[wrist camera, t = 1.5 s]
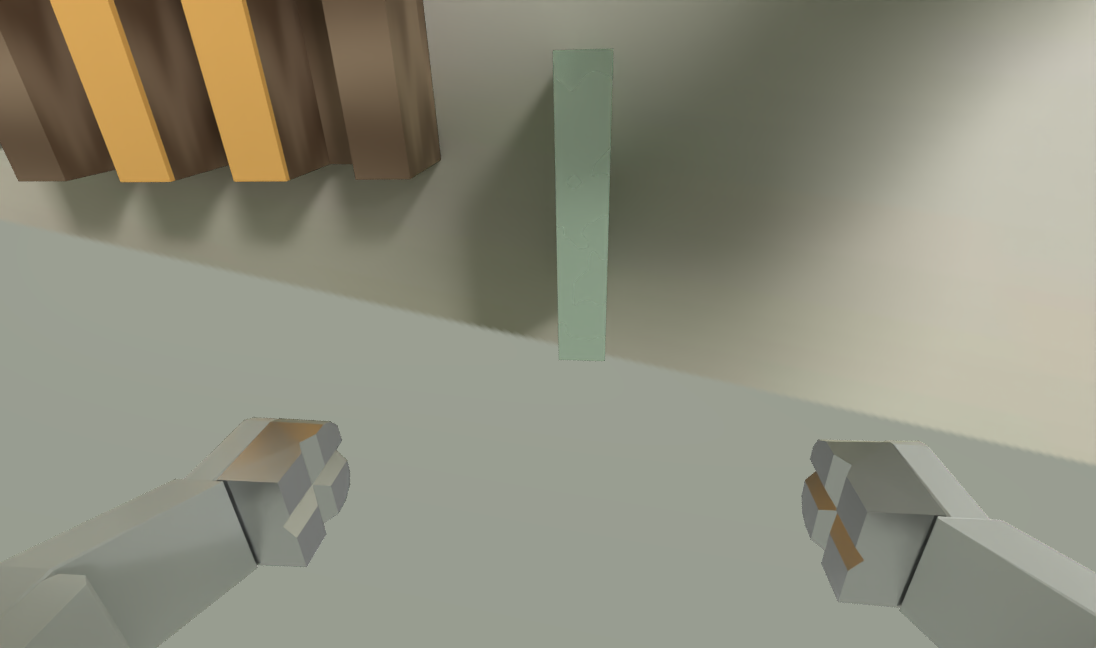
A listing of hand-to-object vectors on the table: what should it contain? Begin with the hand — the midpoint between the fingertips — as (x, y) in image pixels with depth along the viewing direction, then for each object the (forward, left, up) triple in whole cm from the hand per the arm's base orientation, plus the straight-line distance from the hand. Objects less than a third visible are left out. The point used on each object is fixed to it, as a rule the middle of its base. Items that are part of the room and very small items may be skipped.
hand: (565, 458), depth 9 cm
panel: (0, 0, -22) cm, 22 cm away
